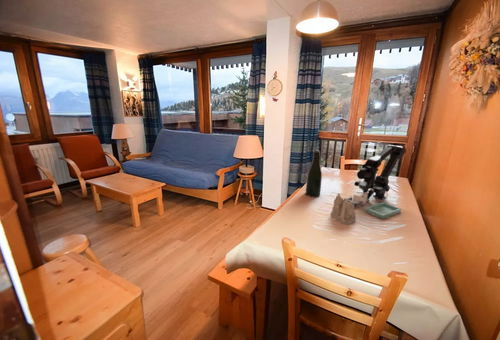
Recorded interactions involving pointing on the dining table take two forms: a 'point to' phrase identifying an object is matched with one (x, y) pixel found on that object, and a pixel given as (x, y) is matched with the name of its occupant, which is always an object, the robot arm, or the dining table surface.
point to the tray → (382, 210)
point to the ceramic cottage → (343, 211)
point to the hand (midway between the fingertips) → (366, 198)
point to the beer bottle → (314, 176)
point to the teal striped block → (361, 197)
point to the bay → (354, 202)
